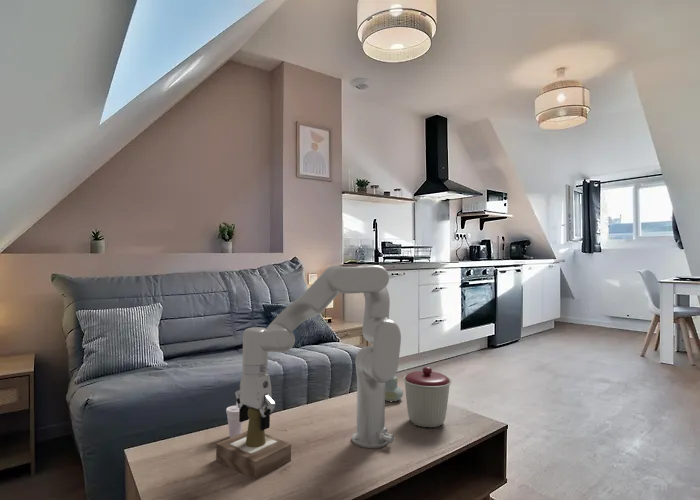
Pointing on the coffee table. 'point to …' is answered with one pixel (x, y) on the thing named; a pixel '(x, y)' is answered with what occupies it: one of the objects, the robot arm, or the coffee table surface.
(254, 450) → the pedestal
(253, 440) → the cork
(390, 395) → the air freshener
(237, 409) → the smoothie
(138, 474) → the coffee table surface
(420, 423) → the canister
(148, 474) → the coffee table surface
